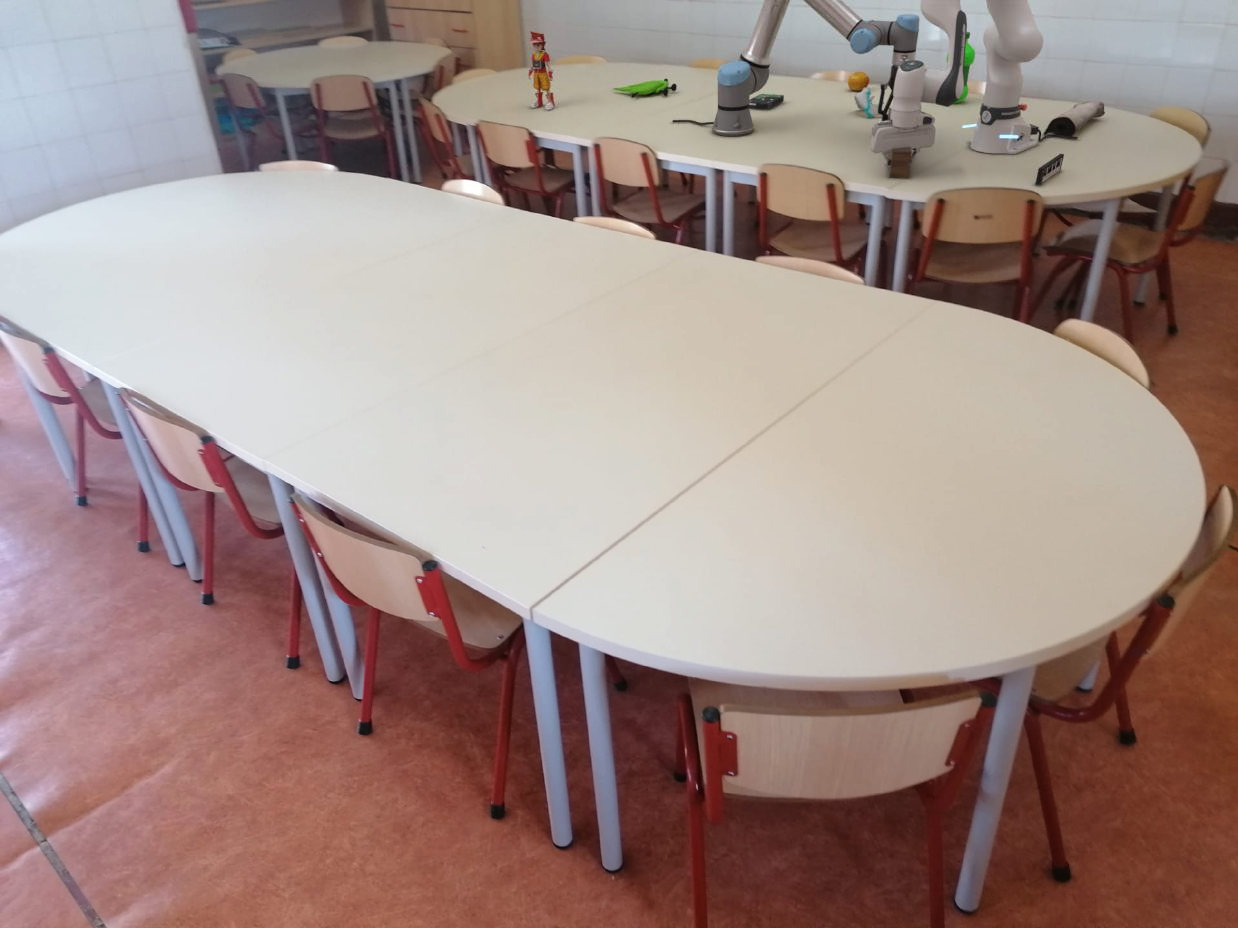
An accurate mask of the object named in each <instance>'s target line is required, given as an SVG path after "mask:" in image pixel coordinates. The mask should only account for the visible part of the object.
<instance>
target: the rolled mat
mask: <svg viewBox="0 0 1238 928" xmlns="http://www.w3.org/2000/svg"><path fill="white" fill-rule="evenodd" d="M1105 113H1106V112H1105V104H1104V102H1102V101H1096V100H1091V101H1085V102H1079V103H1076V104H1074V105H1073V107H1072V108H1071V109H1069V110H1067V111H1065V112H1063V113H1061V114H1060V115H1058V116H1056V117H1054V118H1053V119H1051V120H1050V122H1049V123H1048V125H1047V127H1046V129H1045V130H1044V132H1043V136H1046V135H1049V134H1056V135H1062V136H1073V137H1074V135H1076V134H1077V132H1078V131H1079V130H1080V129H1081V128H1082V127H1083V126H1084V125H1086V124H1087V123H1088V122H1089V121H1090V120H1091V119H1095V118H1096V119H1097V118H1101V117H1103V116H1104V115H1105Z"/></svg>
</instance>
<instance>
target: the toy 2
mask: <svg viewBox="0 0 1238 928" xmlns="http://www.w3.org/2000/svg"><path fill="white" fill-rule="evenodd" d="M669 85H670V83H669V79H668V78H664V79H663V80H649V81H644V82H640V83H634V84H629V85H627V86H621V87H613V88H612V89H613V90H616V91H619V92H623V93H627V94H628V93H629V94H631V95H630V96H631V98H632V99H634V98H636V96H637V95H650V94H652V93H654V94H658V93H662V95H663V96H665V97H667V96H668V95H669V90H671V91H672V92H676V91H677V84H676V83H672V84H671V86H669Z"/></svg>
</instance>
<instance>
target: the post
mask: <svg viewBox="0 0 1238 928" xmlns="http://www.w3.org/2000/svg"><path fill="white" fill-rule="evenodd" d="M891 108H892V107H889V109H888V111H887V114H888V120H890V117H891ZM911 155H912V149H911V147H907V148H898V149H892V151H889V155H887V157H888V158H889V159H891V164H890V165H888V174H889V179H908V178H909V175H910V174H909V173H910V168H911V167H910V166H911V163H910V159H911Z"/></svg>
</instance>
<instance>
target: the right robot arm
mask: <svg viewBox="0 0 1238 928" xmlns="http://www.w3.org/2000/svg"><path fill="white" fill-rule="evenodd" d="M985 1H986V2H985V3H986V8H987V11H988V13H989V15H990V16H991V19H992V20H993V21H991V22H990V23H989V24H988V25H987V26H986V27H985V30H984V32H983V36H982V42H983V44H984V48H985V53H986V54H985V55H986V82H985V88H984V95H983V101H982V103H981V104H980V108H979V117H978V118H977V121H976V123H974V124H973V123H972V124H965V125H962V128H963V129H964V128H966V129H967V128H973V127H974V132H973V135H972V138H971V139H970V140H969V143H970V146H969V147H970V149H972V150H973V151H976V152H979V153H983V154H984V153H985V154H1006V155H1007V154H1008V155H1016V154H1018V153H1021V152H1024V151H1025V150H1029V149H1030V148H1033V147H1035V146H1037V145H1038V142H1042V141H1044V140H1045V139H1046V138H1051V137H1052V138H1053V137H1055V138H1063V139H1072V140H1078V136H1074V135H1073V136H1062V135H1056V134H1055V133H1048V134H1046V135H1043V137H1042V131H1041V130H1040V127H1039V126H1037V125H1034V124H1031V123H1029V122H1027V121H1026V120H1025V119H1024V117H1023V116H1022V115H1021V114H1022V112H1021V111H1023V112H1025V111H1026V110H1027V109H1028V105H1027V104H1026V103H1020V99H1021V94H1022V90H1023V84H1024V76H1023V73H1022V69H1021V68H1022V67H1021V64H1022V63H1028V62H1031V61H1033V60H1034V59H1036V58H1037V57H1038V56H1039V55H1040V53H1041V52H1042V50H1043V46H1044V37H1043V34H1042V33H1041V32H1040V30H1039V28H1038V26H1037V24H1036V21H1035V17H1034V15H1033V13H1032V9H1031V7H1030V4H1029V1H1028V0H985ZM920 11H921V14H922V16H923V17H924V18H925V19H926V21H928V22H929V23H930V24H932V25H933V26H935V27H937V28H938V29H940V30H942V31H943V32H944V33H945V34H946V35H947V37H948V52H949V53H948V52H947V54H948V63H947V67H946V69H934V68H928V67H926V65H925V63H924V61H922V60H917V59H915V60H910V61H906V62H904V63H902V64H900V66H899V68H898V71H897V74H896V78H895V84H894V91H893V96H894V98H893V101H892V105H891V107H890V108H891V117H890V120H886V121H882V120H878V121H876V122H875V123H874V124H873V126H872V127H871V136H870V137H871V138H870V141H869V149H870V151H871V152H873V153H874V154H880V153H881V155H882V157H883V165H884V166H886V167H887V166H889V165H890V164H891V159H889V158H888V155H889V151H892V149H898V148H907V147H911V150H913V152H911V159H910V164H913V163H914V164H915V162H916V158H917V156H918V155H919V153H920V152H921V149H924V148H931V147H933V145H934V144H935V141H936V127H935V125H934V124H935V123H936V117H935V116H933V115H932V114H930V113H927V112H925V111H922V103H924V104H933V105H937V106H942V107H946V108H948V107H951V106H953V105H955V104H957V103H956V102H957V101H958V100H959V99H960V98H961V96H962V94H963V90H964V60H965V48H966V34H967V32H968V18H967V14H966V13H965V11H963V10H962V6H961V0H920ZM1034 135H1035V136H1036V135H1038V137H1037V140H1038V141H1036V140H1035V139H1033V138H1031V137H1032V136H1034Z"/></svg>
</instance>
